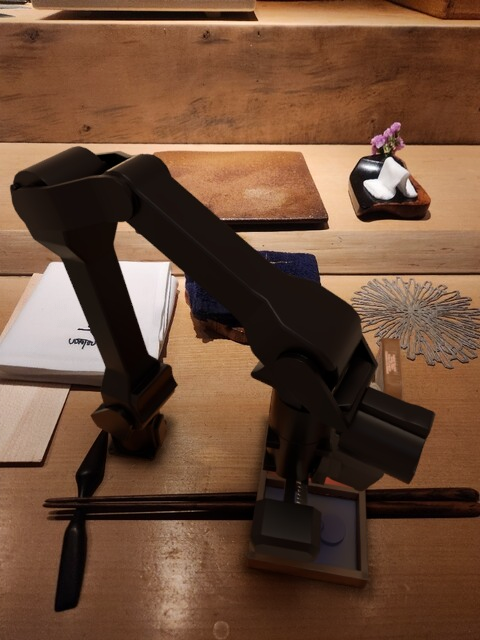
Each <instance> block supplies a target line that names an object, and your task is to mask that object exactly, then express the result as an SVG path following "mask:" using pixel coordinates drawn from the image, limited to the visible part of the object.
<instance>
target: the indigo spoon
mask: <svg viewBox="0 0 480 640" xmlns="http://www.w3.org/2000/svg"><path fill="white" fill-rule="evenodd" d="M345 533H346V528H345V524H344V522H343V521H342V520H341V519H340V518H339V517H338V516H336V515H334V514H324V515H322V517H321V542H322V543H323V544H325V545H328V546H336V545H339V544H340V543H341V542H342V541H343V539H344V536H345Z"/></svg>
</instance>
